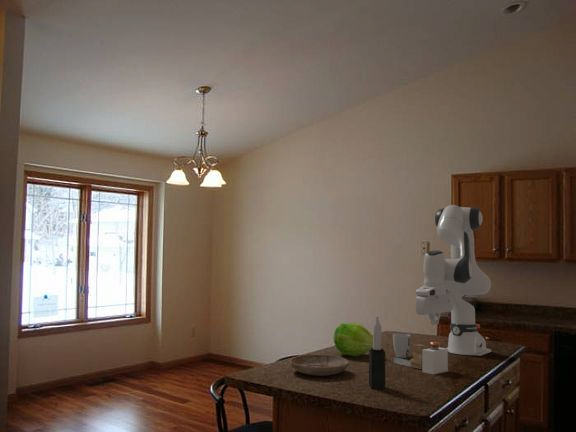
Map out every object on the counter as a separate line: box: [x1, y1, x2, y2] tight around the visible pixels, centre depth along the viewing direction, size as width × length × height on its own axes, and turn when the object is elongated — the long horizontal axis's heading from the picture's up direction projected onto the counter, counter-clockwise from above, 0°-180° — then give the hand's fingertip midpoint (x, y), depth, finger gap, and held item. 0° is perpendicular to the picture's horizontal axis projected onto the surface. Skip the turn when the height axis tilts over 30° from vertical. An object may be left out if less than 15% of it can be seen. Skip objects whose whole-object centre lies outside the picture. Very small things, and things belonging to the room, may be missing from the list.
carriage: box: [410, 343, 426, 370], centre depth 216 cm, size 5×5×9 cm
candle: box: [368, 316, 386, 390], centre depth 185 cm, size 5×5×25 cm
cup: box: [392, 333, 411, 359], centre depth 240 cm, size 8×8×10 cm
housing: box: [421, 346, 449, 375], centre depth 210 cm, size 10×5×9 cm, turn 128°
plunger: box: [429, 341, 441, 350], centre depth 210 cm, size 4×4×6 cm
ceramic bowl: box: [289, 354, 350, 377], centre depth 206 cm, size 23×24×5 cm
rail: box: [392, 357, 420, 370], centre depth 219 cm, size 2×18×2 cm, turn 38°
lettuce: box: [333, 322, 373, 357], centre depth 241 cm, size 17×20×15 cm
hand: (434, 324), depth 211 cm, fingers closed
